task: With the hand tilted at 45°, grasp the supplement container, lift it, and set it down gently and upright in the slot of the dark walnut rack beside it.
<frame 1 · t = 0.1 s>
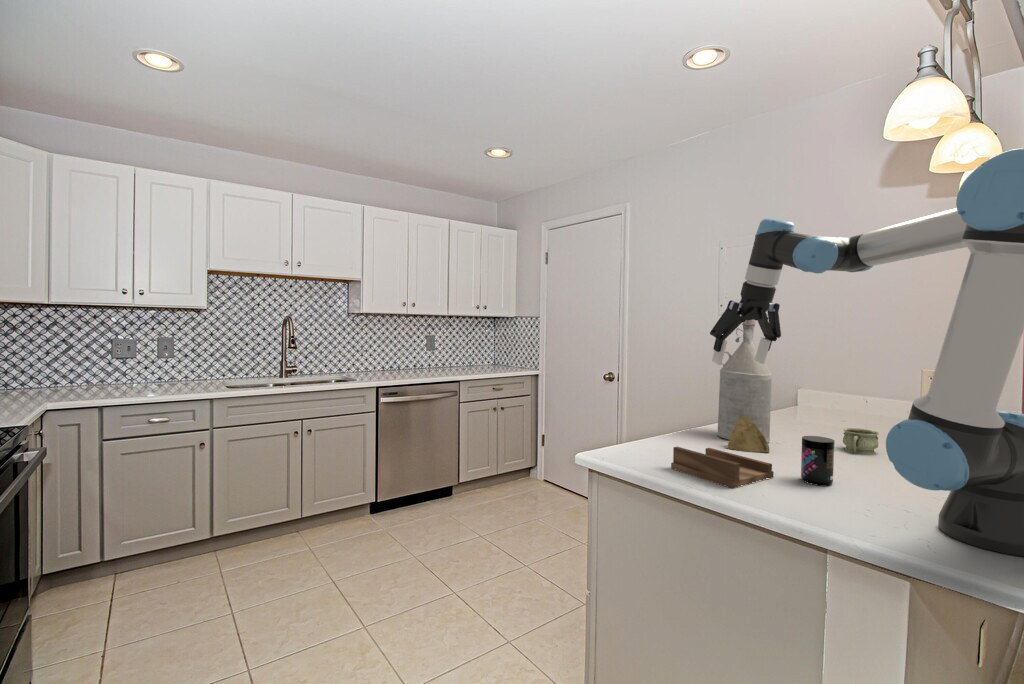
hand: (738, 362, 130), 28 cm above the worktop, tool tilted 20°, fingers open, 13 cm apart
vessel: (859, 452, 148), on the worktop
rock: (749, 451, 149), on the worktop
supplement container: (816, 482, 120), on the worktop
grey jug: (741, 439, 163), on the worktop
walnut rack: (720, 472, 126), on the worktop
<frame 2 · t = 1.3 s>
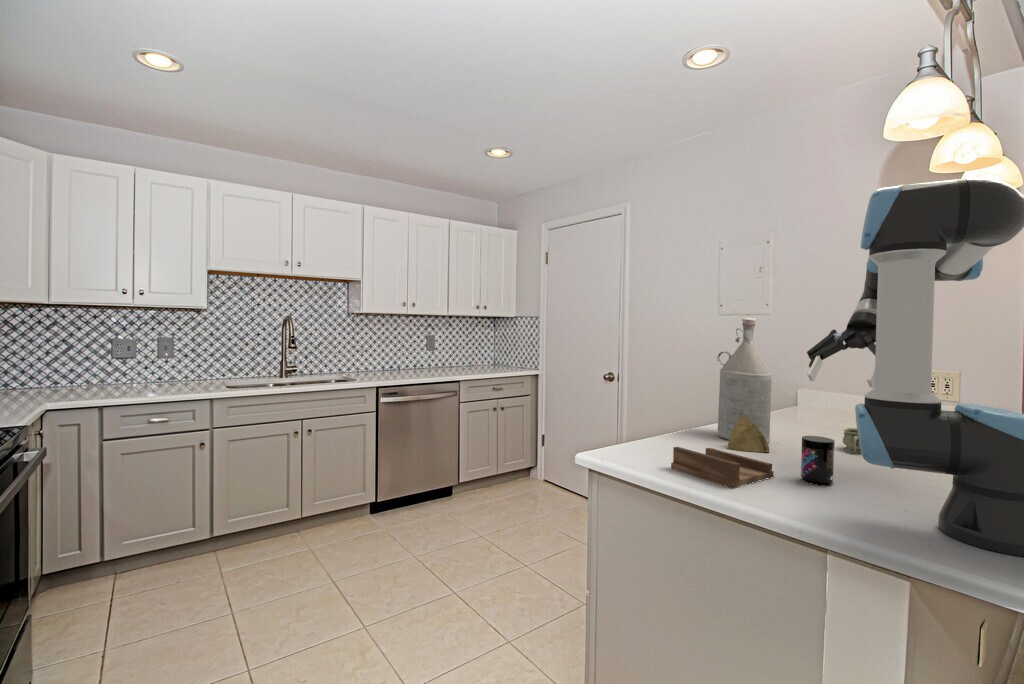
hand: (838, 380, 124), 24 cm above the worktop, tool tilted 45°, fingers open, 13 cm apart
nothing on the worktop moved.
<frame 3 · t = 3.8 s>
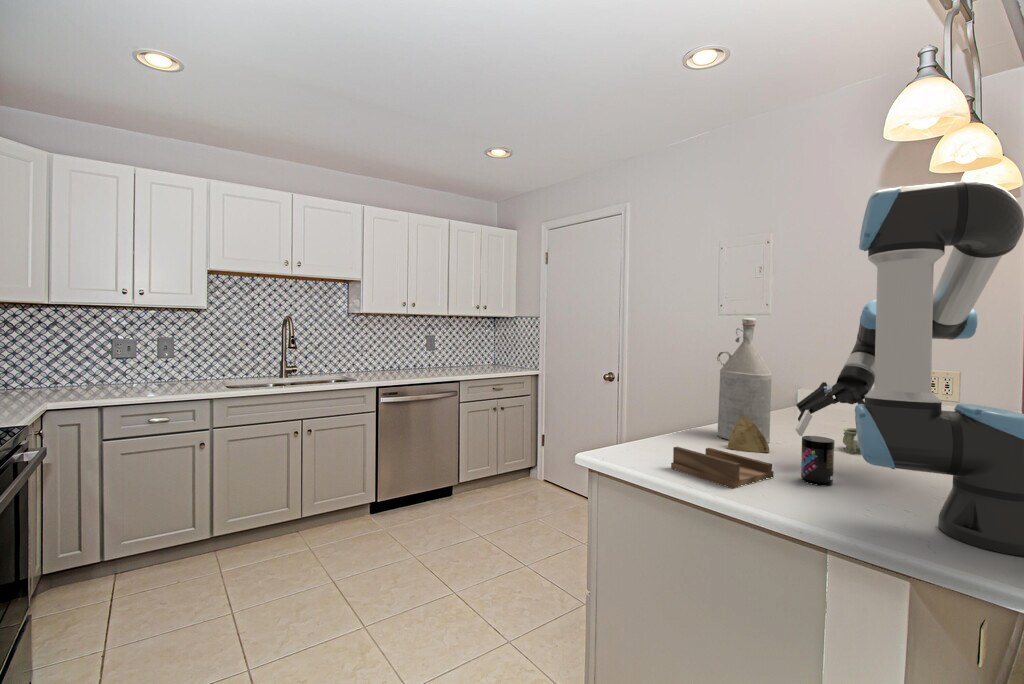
hand: (826, 438, 123), 10 cm above the worktop, tool tilted 45°, fingers open, 13 cm apart
nothing on the worktop moved.
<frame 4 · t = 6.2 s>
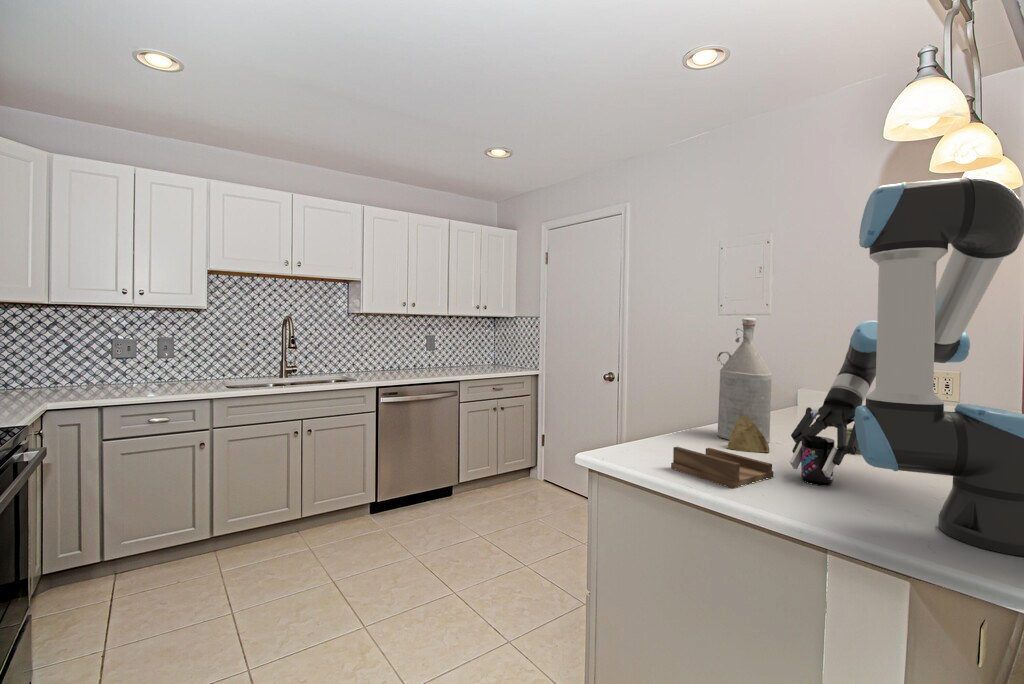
hand: (809, 469, 118), 3 cm above the worktop, tool tilted 45°, fingers closed on supplement container, 7 cm apart
supplement container: (816, 482, 120), on the worktop, touching gripper
everything else where it was.
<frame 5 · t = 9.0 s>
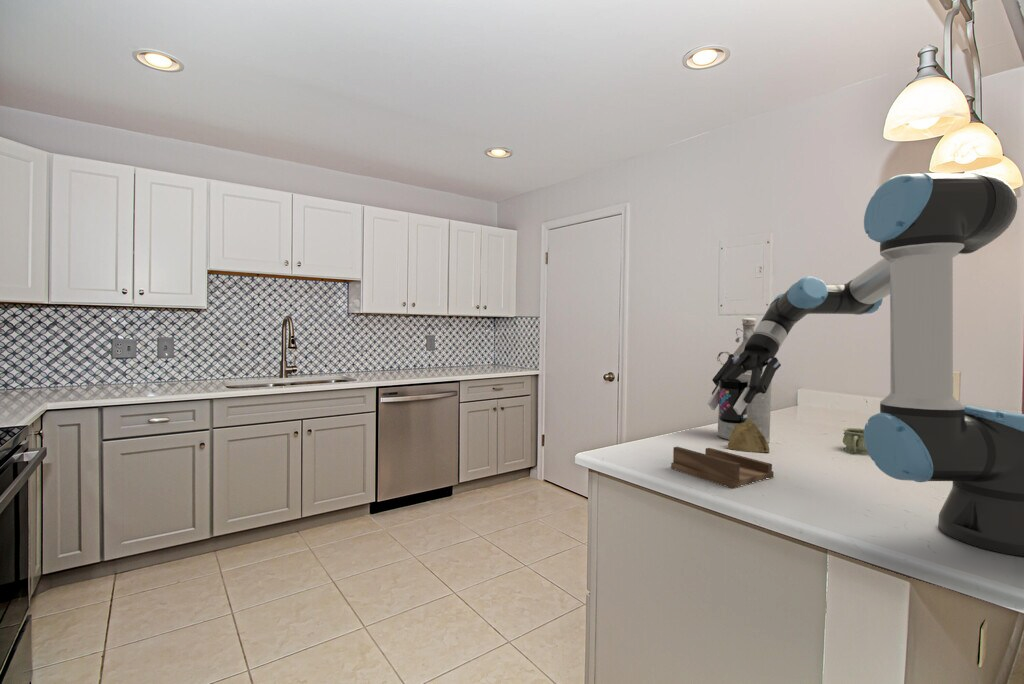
hand: (723, 408, 124), 17 cm above the worktop, tool tilted 45°, fingers closed on supplement container, 7 cm apart
supplement container: (732, 421, 126), point 13 cm above the worktop, touching gripper
everything else where it was.
when the fingers open (6 cm above the worktop, at t = 12.0 s): supplement container drops 1 cm, resting on walnut rack.
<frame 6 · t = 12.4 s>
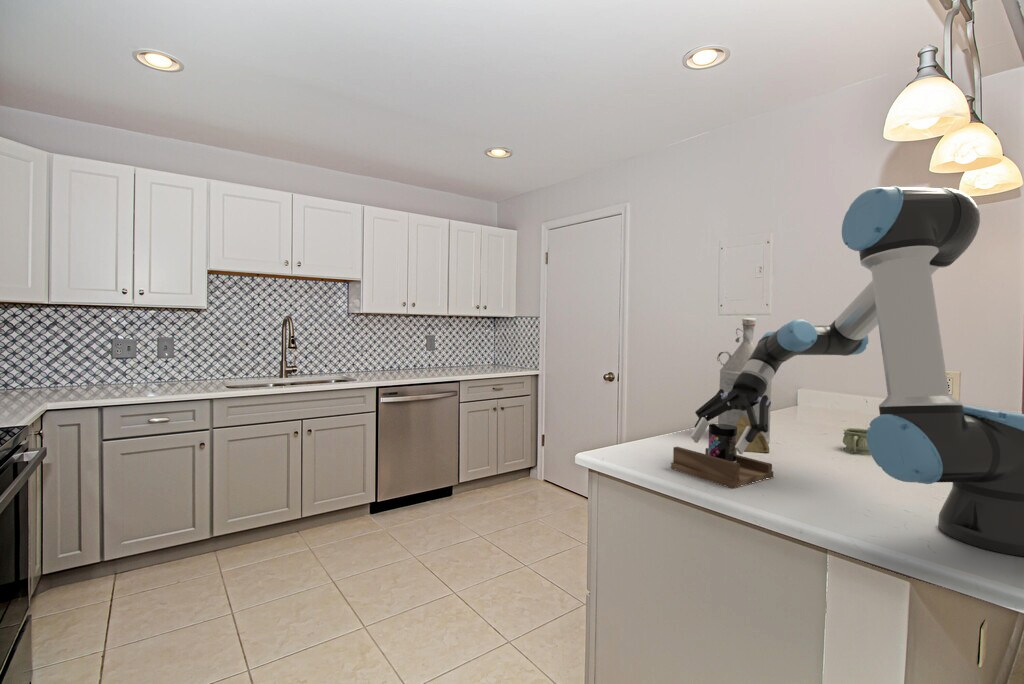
hand: (715, 445, 125), 7 cm above the worktop, tool tilted 45°, fingers open, 12 cm apart
supplement container: (721, 467, 126), point 1 cm above the worktop, touching walnut rack
everything else where it was.
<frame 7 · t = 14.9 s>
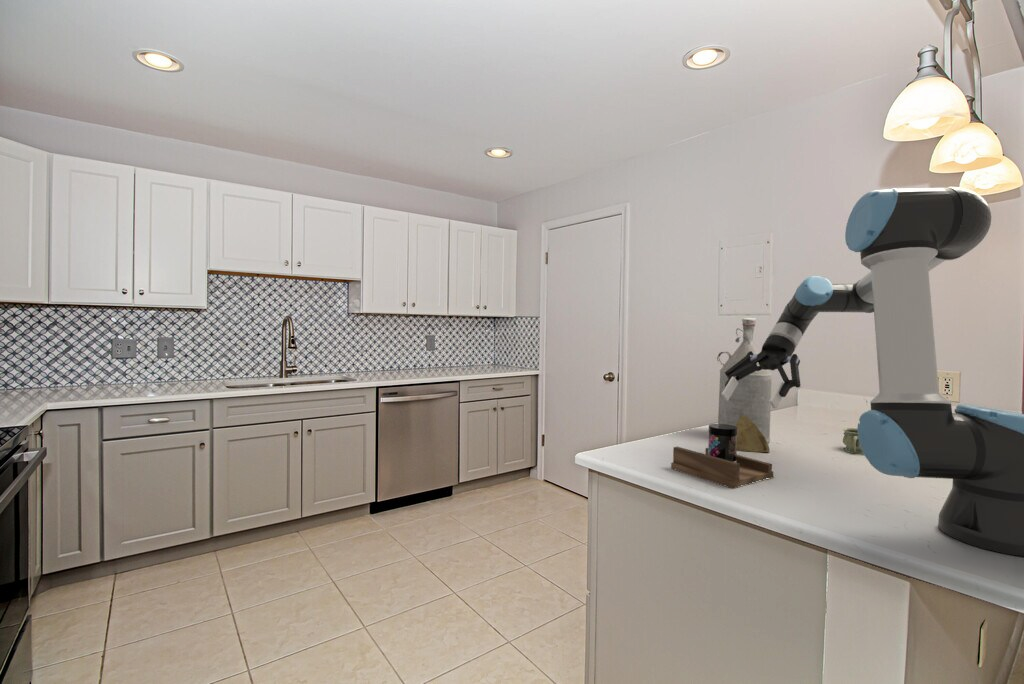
hand: (747, 401, 131), 18 cm above the worktop, tool tilted 45°, fingers open, 13 cm apart
nothing on the worktop moved.
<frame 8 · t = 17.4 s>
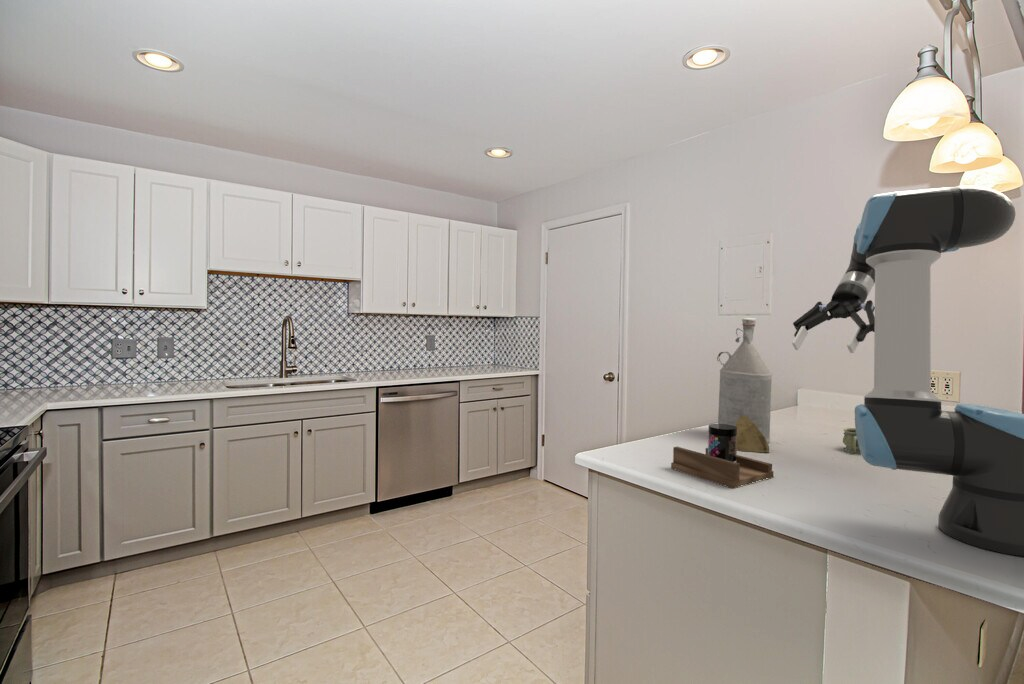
hand: (821, 348, 129), 32 cm above the worktop, tool tilted 45°, fingers open, 13 cm apart
nothing on the worktop moved.
at the end: supplement container inside the target area on the walnut rack (0.2 cm from its centre), point 1.3 cm above the walnut rack's base; supplement container tilted 0°; the gripper is holding nothing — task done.
